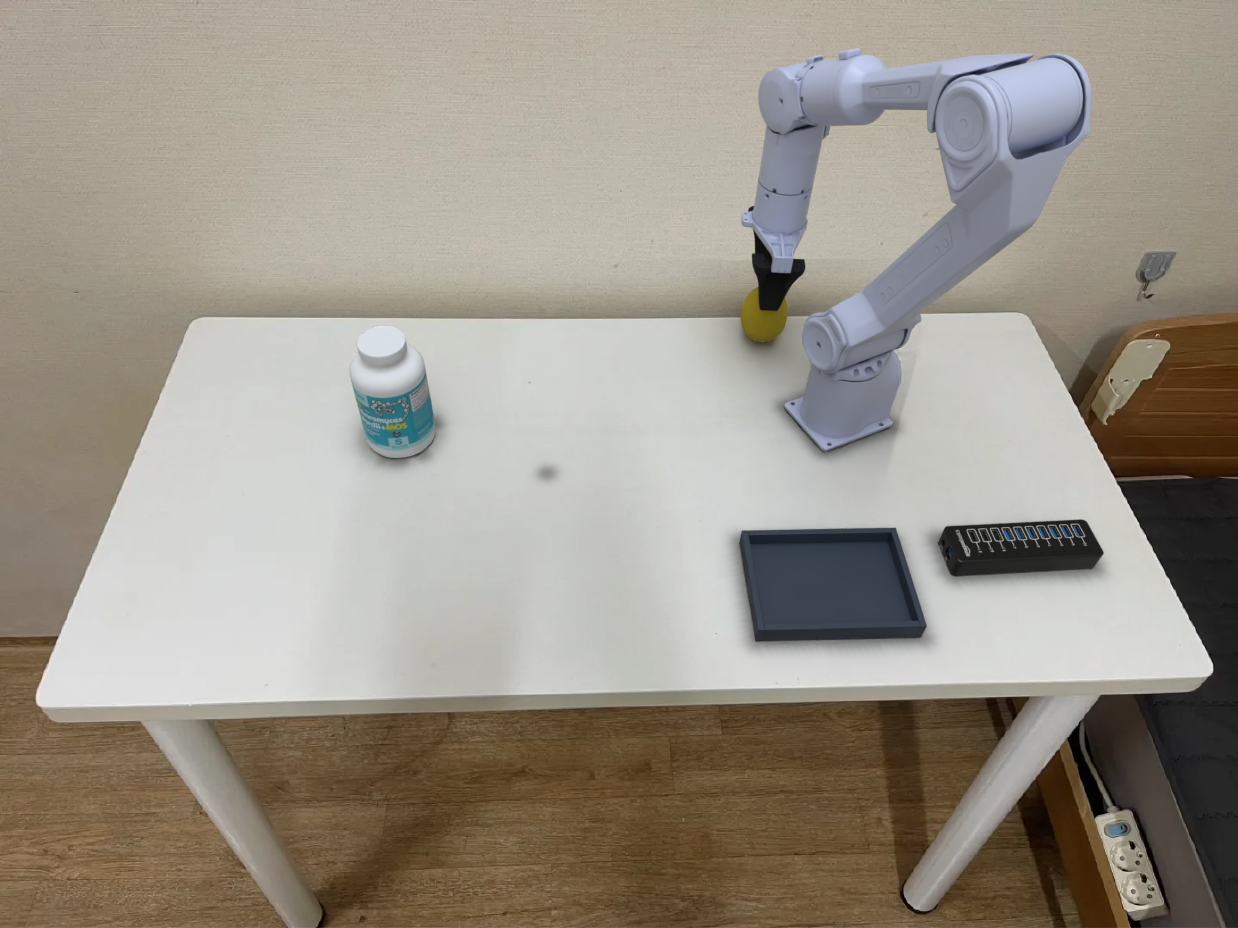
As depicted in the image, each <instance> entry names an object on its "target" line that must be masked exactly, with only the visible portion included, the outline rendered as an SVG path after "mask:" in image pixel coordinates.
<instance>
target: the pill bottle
mask: <svg viewBox="0 0 1238 928" xmlns="http://www.w3.org/2000/svg"><path fill="white" fill-rule="evenodd" d="M406 339H407V338H406V335H405V333H404V332H403V331H402V330H401V329H399V328H397V327H396V326H395V327H394V326H392V325H377V326H373V327H371V328H368V329H365V330H364V331H363V332H362V333H361V334H360V335H359V336H358V338H357V341H356V347H357V352H356V353H355V354H354V356H353V357H352V359H351V361H350V363H349V369H348V370H349V371H348V373H349V378H350V383H351V386H352V390H353V393H354V397H355V402H356V405H357V409H358V411H359V416H360V420H361V424H362V428H363V431H364V435H365V440H366V442H367V444H368V446H369V447H370V449H372V450H373V451H374V452H376V453H377V454H379V455H381V456H383V457H385V458H391V459H403V458H409V457H412V456H414V455H417V454H419V453H421V452H422V451H424V450H425V449H426V448H427V447H429V445H430V444H431V443H432V441H433V440H434V438H435V435H436V422H435V415H434V409H433V404H432V399H431V393H430V387H429V381H428V375H427V371H426V365H425V364H426V363H425V361H424V357H423V355H422V353H421V352H420V351H419V350H418V349H417V348H416V347H415V346H414V345H412V344H410V343H408V342H407V340H406Z"/></svg>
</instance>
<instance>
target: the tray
mask: <svg viewBox="0 0 1238 928" xmlns="http://www.w3.org/2000/svg"><path fill="white" fill-rule="evenodd" d="M738 543H739V549H740V555H741V556H740V557H741V561H742V568H743V575H744V580H745V588H746V593H747V599H748V604H749V605H748V606H749V610H750V611H749V612H750V616H751V622H752V630H753V635H754V641H755V642H756V643H757V642H758V643H759V642H796V641H836V640H837V641H838V640H839V641H840V640H878V639H879V640H880V639H881V640H882V639H883V640H884V639H885V640H886V639H921V638H922V636H923V635H924V633H925V631H926V629H927V627H928V625H927V621H926V619H925V618H926V617H925V615H924V613H923V609H922V605H921V603H920V599H919V597H918V594H917V589H916V587H915V584H914V581H913V578H912V574H911V572H910V568H909V566H908V561H907V558H906V555H905V552H904V549H903V546H902V542H901V539H900V536H899V533H898V530H897V527H858V528H857V527H856V528H855V527H853V528H850V527H849V528H847V527H846V528H803V529H799V528H798V529H751V530H750V529H747V530H745V529H744V530H743V529H742V530H741V532H740V538H739V542H738Z"/></svg>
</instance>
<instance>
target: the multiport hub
mask: <svg viewBox="0 0 1238 928" xmlns="http://www.w3.org/2000/svg"><path fill="white" fill-rule="evenodd" d="M937 544H938V547H939V550H940V552H941V554H942V557H943V559H944V562H945V565H946V567H947V570H948V572H949V574H950V575H951V576H952V577H965V576H966V577H968V576H987V575H1001V574H1002V575H1006V574H1023V573H1025V574H1026V573H1042V572H1061V571H1062V572H1063V571H1081V570H1093V569H1094V568H1095V567H1096V565H1097V564H1098V563H1099V561H1100V560H1101V559H1102V557H1103V556H1104V554H1105V552H1104V549H1103V548H1102V546H1101V544H1100V543H1099V540H1098V539H1097V537H1096V535H1095V534H1094V532H1093V530H1092V528H1091V526H1090V524H1089V523H1088V522H1087V520H1085V519H1081V518H1080V519H1060V520H1058V519H1057V520H1039V521H1022V522H1020V521H1019V522H1003V523H980V524H979V523H978V524H965V525H964V524H962V525H961V524H960V525H946V526H945V527H944V528H943V531H942V533H941V534H940V537H939V539H938V541H937Z"/></svg>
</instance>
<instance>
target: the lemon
mask: <svg viewBox="0 0 1238 928" xmlns="http://www.w3.org/2000/svg"><path fill="white" fill-rule="evenodd" d="M788 314H789V306H788V302H787V299H786V297H785V298H784V300H783V302H782V304H781V306H780V308H779V310H778V311H765V310H760V308H759V299H758V286H757V287H755V288H753V289H751V290H750V291H749V293H748V294H747V295H746V297H745V298H744V300H743V303H742V306H741V309H740V315H739V316H740V317H739V318H740V319H739V320H740V326H741V328H742V330H743V333H744V334H745V335H746V336H747V337H748V338H749V339H751V340H753V341H754V342H759V343H767V342H770V341H773V340H775V339H776V338H778V337H779V336H780V335H781V334H782V332H783V331H784V328H785V327H786V324H787V323H788Z"/></svg>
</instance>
